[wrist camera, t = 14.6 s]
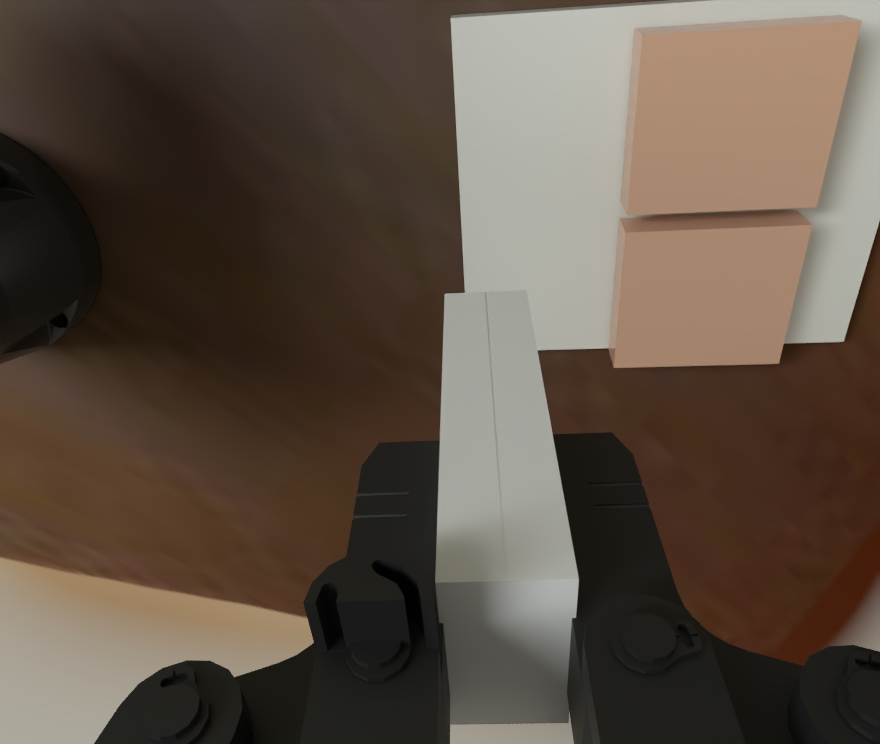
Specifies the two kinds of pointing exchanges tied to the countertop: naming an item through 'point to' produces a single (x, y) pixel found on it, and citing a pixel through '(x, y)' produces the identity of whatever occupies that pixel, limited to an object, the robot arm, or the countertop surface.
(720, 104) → the tile
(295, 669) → the robot arm
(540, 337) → the stone board
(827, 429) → the countertop surface
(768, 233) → the tile
